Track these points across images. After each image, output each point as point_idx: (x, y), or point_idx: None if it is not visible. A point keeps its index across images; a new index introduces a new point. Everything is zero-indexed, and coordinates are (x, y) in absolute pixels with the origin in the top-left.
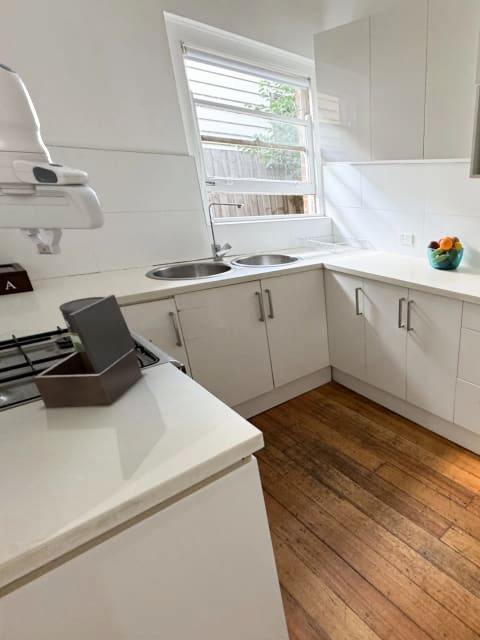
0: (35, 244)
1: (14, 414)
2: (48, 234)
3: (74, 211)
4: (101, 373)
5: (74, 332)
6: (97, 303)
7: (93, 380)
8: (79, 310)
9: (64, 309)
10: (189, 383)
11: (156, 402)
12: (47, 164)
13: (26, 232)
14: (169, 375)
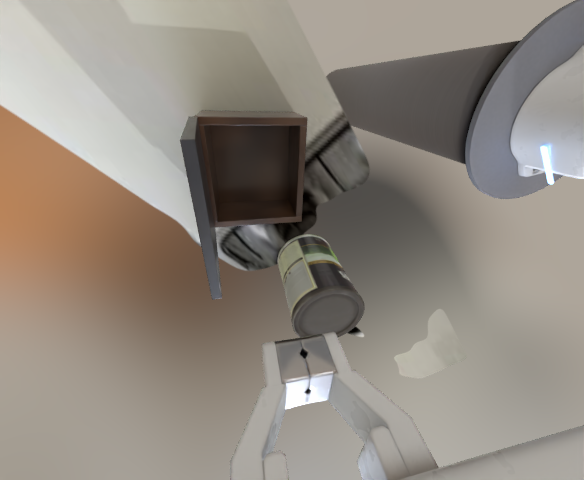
0: (342, 373)
1: (325, 96)
2: (265, 460)
3: None
4: None
5: (330, 263)
6: (200, 241)
7: (208, 115)
8: (194, 180)
9: (348, 291)
10: (115, 178)
11: (124, 113)
12: None
13: (396, 443)
14: (171, 205)
